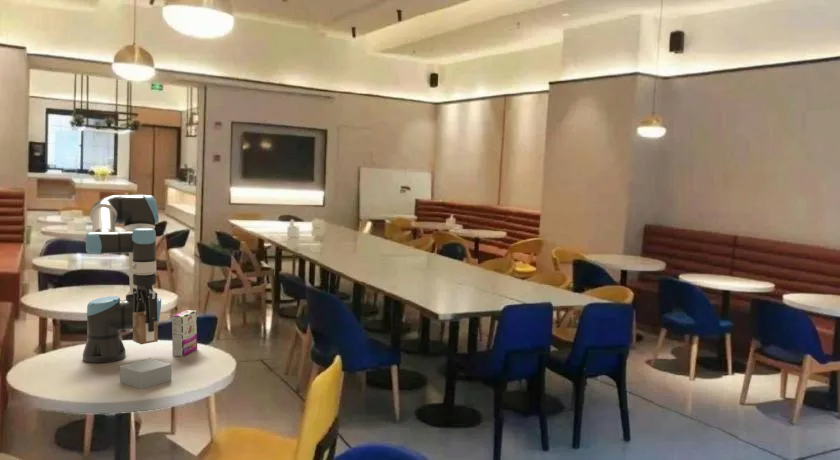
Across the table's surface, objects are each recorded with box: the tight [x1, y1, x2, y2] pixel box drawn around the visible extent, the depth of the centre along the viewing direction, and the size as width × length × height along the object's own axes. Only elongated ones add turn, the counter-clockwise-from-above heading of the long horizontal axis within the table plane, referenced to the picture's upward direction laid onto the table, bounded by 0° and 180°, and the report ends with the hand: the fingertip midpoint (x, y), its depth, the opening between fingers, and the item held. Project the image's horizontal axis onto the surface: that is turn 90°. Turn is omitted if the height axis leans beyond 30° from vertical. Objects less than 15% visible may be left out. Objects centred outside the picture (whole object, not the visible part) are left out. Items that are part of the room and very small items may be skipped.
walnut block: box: [132, 311, 159, 345], centre depth 240 cm, size 6×6×10 cm
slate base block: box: [119, 358, 172, 390], centre depth 242 cm, size 12×12×6 cm
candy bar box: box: [171, 309, 198, 358], centre depth 277 cm, size 11×5×16 cm, turn 168°
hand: (145, 338), depth 241 cm, fingers closed on walnut block, 6 cm apart
